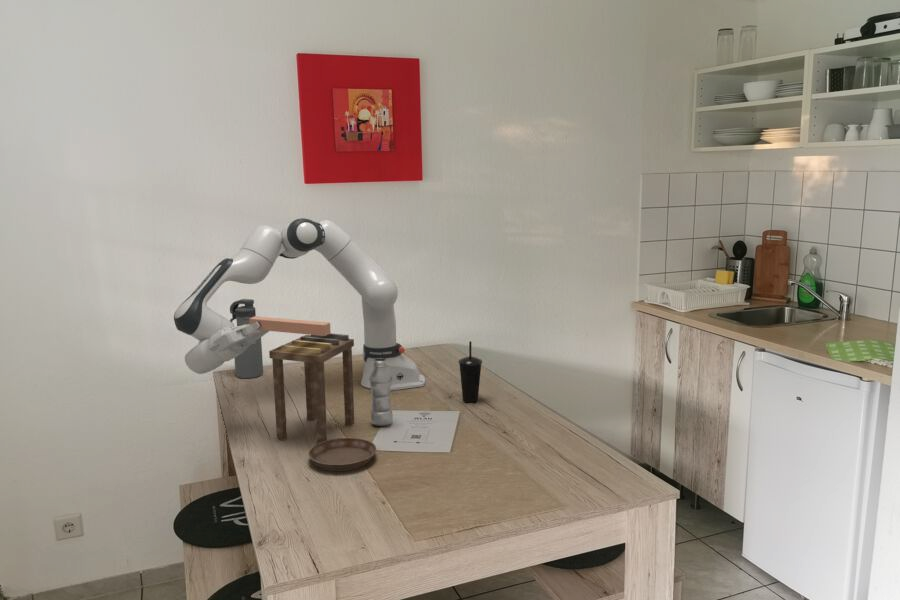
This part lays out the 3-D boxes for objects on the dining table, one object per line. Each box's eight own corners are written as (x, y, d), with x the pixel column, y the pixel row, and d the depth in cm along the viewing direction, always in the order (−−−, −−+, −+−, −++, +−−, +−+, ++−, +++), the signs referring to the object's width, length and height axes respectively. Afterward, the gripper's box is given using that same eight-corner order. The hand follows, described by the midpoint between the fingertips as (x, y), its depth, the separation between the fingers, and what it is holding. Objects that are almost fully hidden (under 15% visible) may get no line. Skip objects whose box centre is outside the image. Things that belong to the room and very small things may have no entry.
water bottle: (229, 377, 255) (223, 302, 250) (244, 370, 264) (239, 296, 259) (253, 380, 252) (249, 303, 247) (268, 372, 261) (264, 298, 256)
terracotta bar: (249, 329, 198) (249, 318, 197) (256, 326, 201) (255, 316, 200) (325, 336, 190) (324, 325, 189) (330, 333, 192) (330, 322, 192)
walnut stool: (274, 440, 199) (268, 345, 193) (309, 417, 216) (305, 330, 211) (324, 447, 193) (320, 351, 188) (356, 423, 211) (353, 334, 205)
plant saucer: (303, 452, 191) (303, 442, 190) (367, 443, 197) (367, 433, 196) (315, 480, 174) (314, 468, 174) (384, 469, 180) (384, 458, 180)
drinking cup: (482, 397, 233) (482, 338, 229) (481, 405, 225) (481, 345, 221) (459, 396, 233) (459, 338, 229) (457, 404, 226) (457, 344, 222)
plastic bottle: (389, 429, 206) (388, 363, 202) (367, 427, 207) (365, 362, 203) (395, 421, 212) (394, 357, 208) (374, 419, 213) (372, 356, 209)
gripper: (200, 341, 193) (235, 320, 188) (246, 325, 212) (278, 305, 207) (211, 362, 193) (246, 341, 188) (256, 343, 212) (289, 324, 207)
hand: (264, 322), depth 198 cm, fingers closed on terracotta bar, 3 cm apart
